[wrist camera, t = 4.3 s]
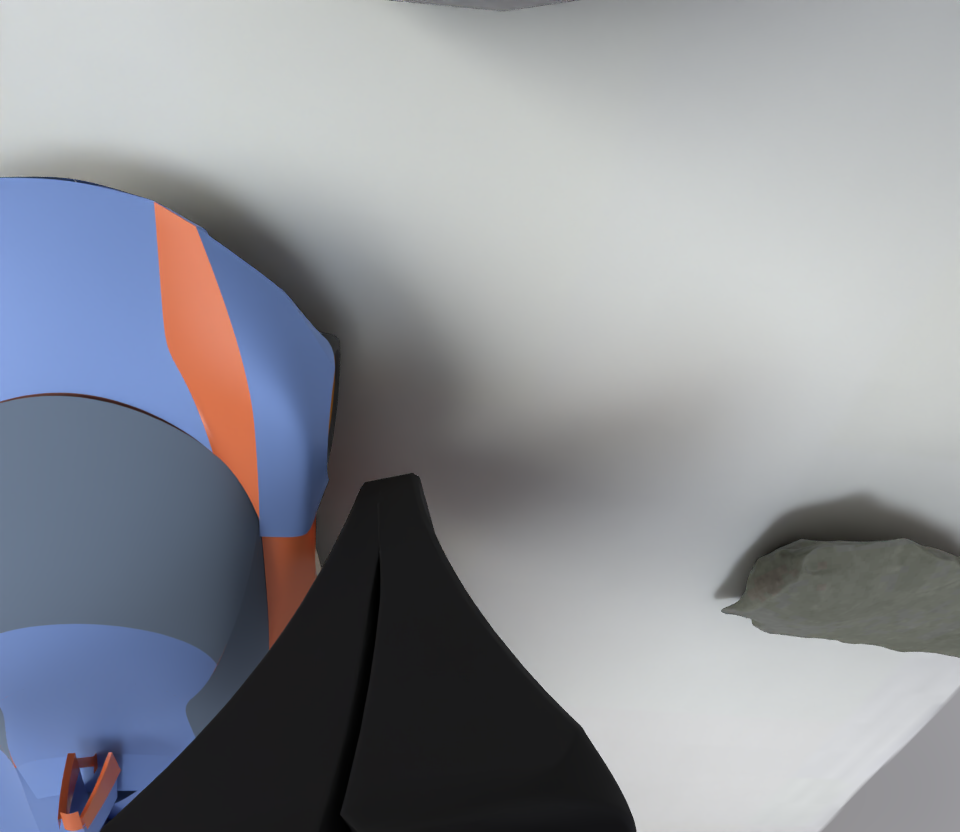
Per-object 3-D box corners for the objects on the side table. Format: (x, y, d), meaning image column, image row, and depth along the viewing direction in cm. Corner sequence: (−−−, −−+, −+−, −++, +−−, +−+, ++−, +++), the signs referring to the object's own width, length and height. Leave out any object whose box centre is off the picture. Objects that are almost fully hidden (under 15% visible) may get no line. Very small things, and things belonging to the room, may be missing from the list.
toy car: (382, 196, 10) (371, 331, 6) (338, 714, 18) (319, 943, 13) (-192, 109, 8) (-843, 200, 4) (34, 718, 16) (-101, 978, 12)
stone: (833, 468, 15) (693, 567, 18) (869, 537, 13) (709, 632, 16) (1134, 610, 18) (974, 672, 21) (1189, 677, 17) (1008, 733, 20)
